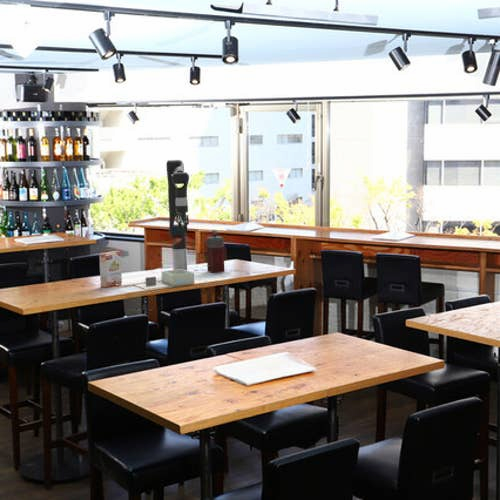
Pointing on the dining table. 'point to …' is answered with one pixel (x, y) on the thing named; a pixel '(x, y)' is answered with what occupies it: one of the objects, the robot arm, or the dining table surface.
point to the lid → (151, 284)
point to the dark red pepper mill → (215, 253)
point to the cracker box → (110, 268)
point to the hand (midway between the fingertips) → (182, 230)
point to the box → (178, 277)
